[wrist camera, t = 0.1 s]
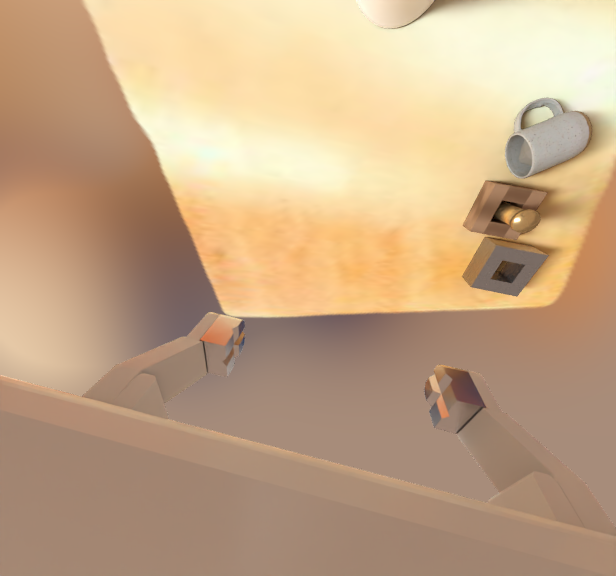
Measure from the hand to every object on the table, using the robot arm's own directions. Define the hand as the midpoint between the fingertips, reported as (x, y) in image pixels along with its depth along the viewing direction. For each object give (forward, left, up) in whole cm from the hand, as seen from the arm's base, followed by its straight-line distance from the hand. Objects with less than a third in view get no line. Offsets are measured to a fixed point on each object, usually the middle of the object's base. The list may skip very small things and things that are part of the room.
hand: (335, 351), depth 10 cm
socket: (+10, +36, -48) cm, 61 cm away
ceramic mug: (-13, +29, -48) cm, 58 cm away
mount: (-1, +30, -48) cm, 57 cm away
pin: (-1, +30, -48) cm, 57 cm away
